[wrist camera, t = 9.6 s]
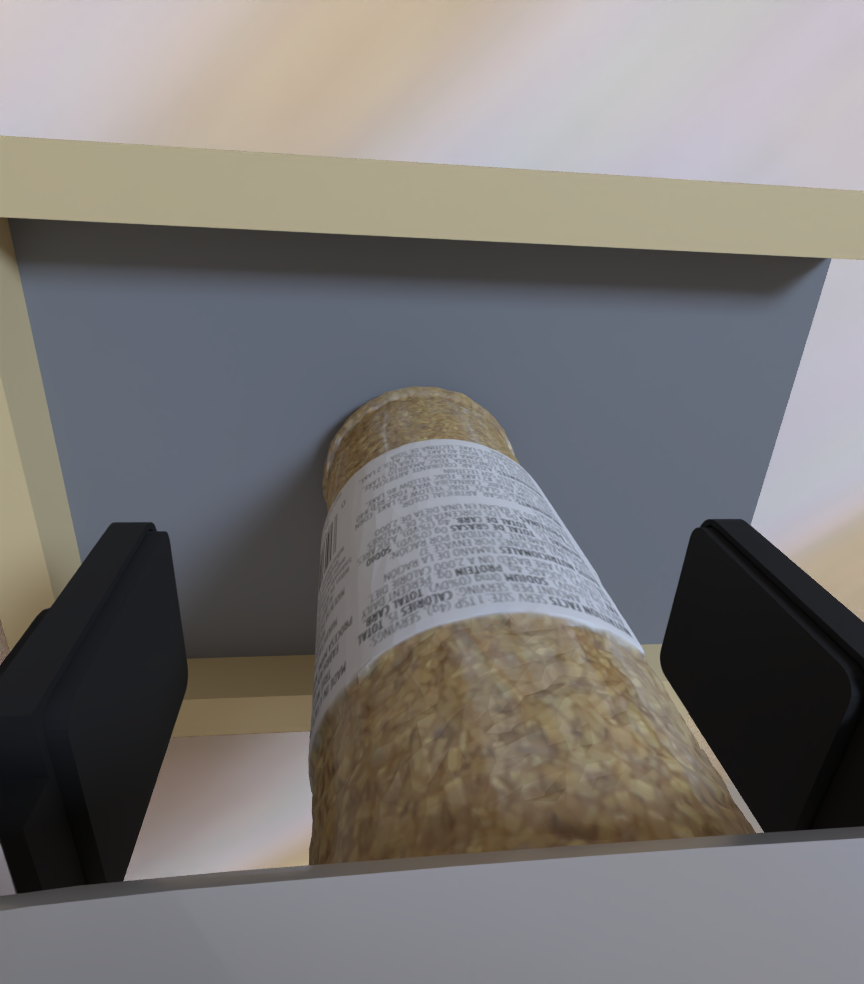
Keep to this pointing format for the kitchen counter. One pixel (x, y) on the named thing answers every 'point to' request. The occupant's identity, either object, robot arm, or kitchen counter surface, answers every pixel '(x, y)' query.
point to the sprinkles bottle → (478, 660)
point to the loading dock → (376, 368)
